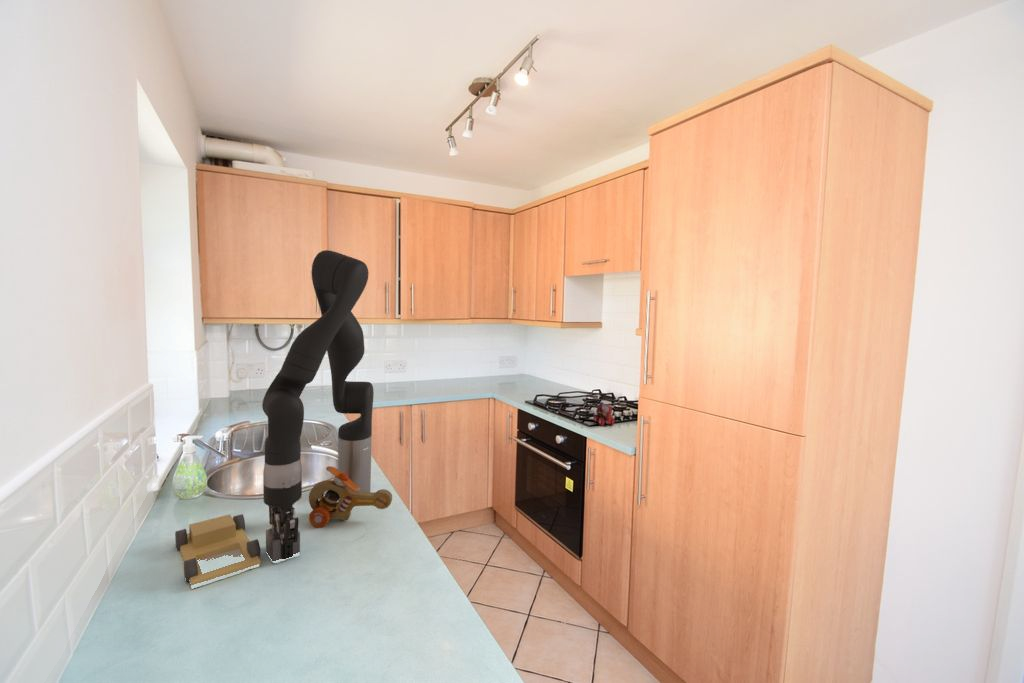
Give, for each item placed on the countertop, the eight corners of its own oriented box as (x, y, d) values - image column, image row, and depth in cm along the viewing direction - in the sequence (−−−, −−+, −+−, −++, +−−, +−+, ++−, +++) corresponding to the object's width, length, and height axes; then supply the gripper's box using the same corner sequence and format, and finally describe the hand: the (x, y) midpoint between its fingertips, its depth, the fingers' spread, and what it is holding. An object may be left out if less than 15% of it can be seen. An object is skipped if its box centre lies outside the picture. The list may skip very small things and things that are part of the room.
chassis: (174, 543, 101) (174, 524, 101) (240, 525, 110) (240, 507, 109) (188, 591, 86) (187, 569, 85) (262, 566, 95) (262, 546, 94)
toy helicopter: (315, 512, 118) (315, 462, 117) (394, 512, 120) (395, 463, 119) (303, 528, 110) (303, 475, 109) (388, 528, 112) (389, 476, 111)
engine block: (265, 553, 99) (265, 530, 99) (292, 544, 103) (292, 522, 103) (272, 565, 95) (272, 541, 95) (299, 555, 99) (300, 532, 99)
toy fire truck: (603, 420, 224) (605, 399, 223) (615, 427, 212) (617, 406, 211) (591, 420, 222) (592, 400, 221) (602, 427, 210) (604, 406, 209)
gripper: (255, 472, 100) (255, 543, 102) (273, 495, 90) (273, 574, 91) (290, 465, 105) (290, 532, 107) (312, 486, 95) (311, 560, 96)
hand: (282, 551), depth 99 cm, fingers closed on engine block, 5 cm apart
